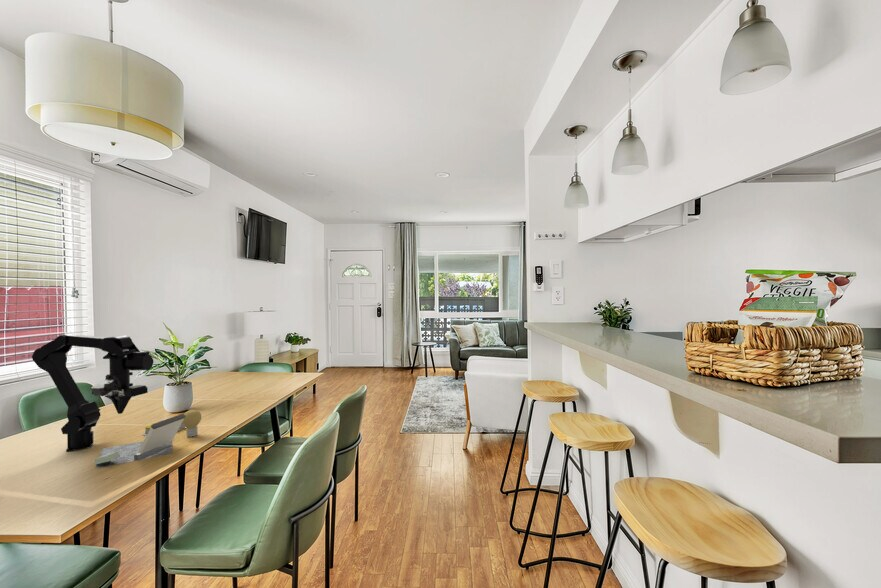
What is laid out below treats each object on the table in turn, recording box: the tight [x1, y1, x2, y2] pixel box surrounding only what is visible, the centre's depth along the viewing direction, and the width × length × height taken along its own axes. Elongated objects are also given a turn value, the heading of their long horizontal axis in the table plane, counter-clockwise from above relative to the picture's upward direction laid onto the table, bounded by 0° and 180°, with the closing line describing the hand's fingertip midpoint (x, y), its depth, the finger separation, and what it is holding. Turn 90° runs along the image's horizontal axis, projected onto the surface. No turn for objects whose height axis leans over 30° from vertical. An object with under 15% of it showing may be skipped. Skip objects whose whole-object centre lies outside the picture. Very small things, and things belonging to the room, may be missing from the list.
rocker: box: [93, 451, 120, 465], centre depth 129 cm, size 5×4×2 cm
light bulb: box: [183, 409, 202, 438], centre depth 156 cm, size 6×6×10 cm
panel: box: [94, 440, 173, 469], centre depth 139 cm, size 20×20×2 cm
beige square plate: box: [138, 413, 185, 454], centre depth 137 cm, size 1×12×11 cm
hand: (120, 413), depth 146 cm, fingers closed
